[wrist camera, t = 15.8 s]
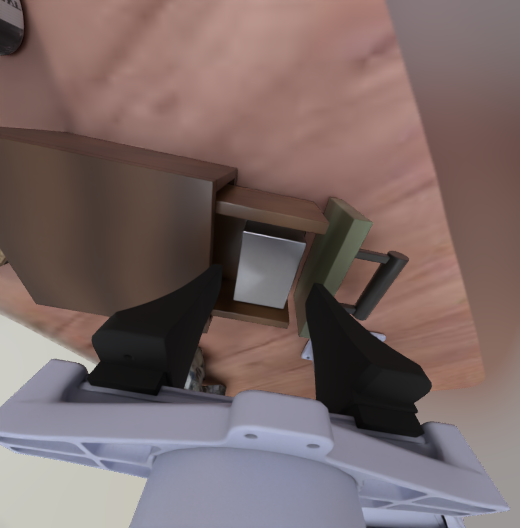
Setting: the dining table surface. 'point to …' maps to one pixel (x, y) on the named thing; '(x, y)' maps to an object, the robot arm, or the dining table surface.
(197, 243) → the cabinet
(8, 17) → the pill bottle
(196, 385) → the foil
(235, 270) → the drawer
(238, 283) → the silver metal block
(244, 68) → the dining table surface
